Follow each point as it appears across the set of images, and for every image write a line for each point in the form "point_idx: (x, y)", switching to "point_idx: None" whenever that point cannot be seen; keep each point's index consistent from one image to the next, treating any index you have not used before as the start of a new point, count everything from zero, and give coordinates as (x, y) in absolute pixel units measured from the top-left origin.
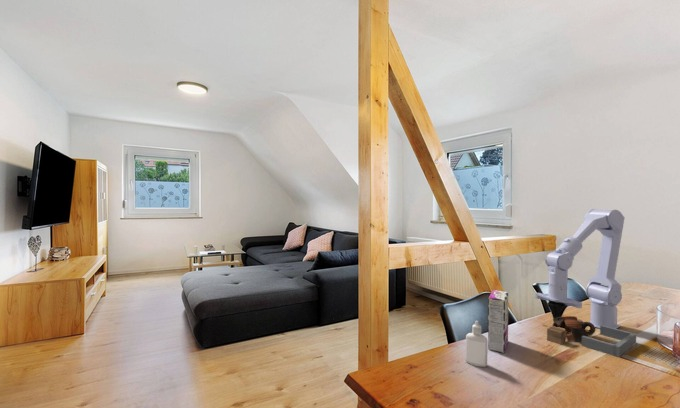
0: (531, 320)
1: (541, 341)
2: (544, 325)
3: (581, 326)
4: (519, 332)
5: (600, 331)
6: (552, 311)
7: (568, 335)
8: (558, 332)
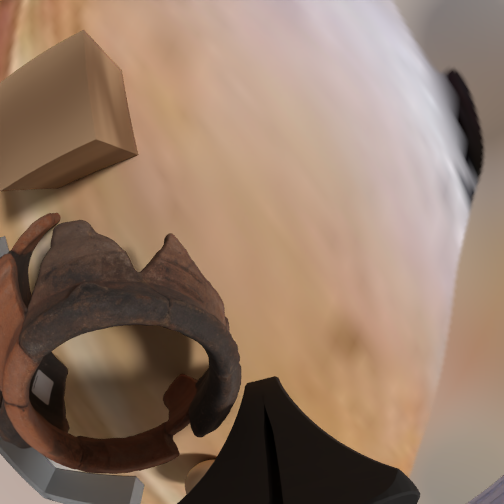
0: (436, 327)
1: (128, 22)
2: (349, 340)
3: (187, 476)
4: (309, 12)
5: (133, 486)
6: (307, 442)
7: (33, 223)
8: (7, 80)
